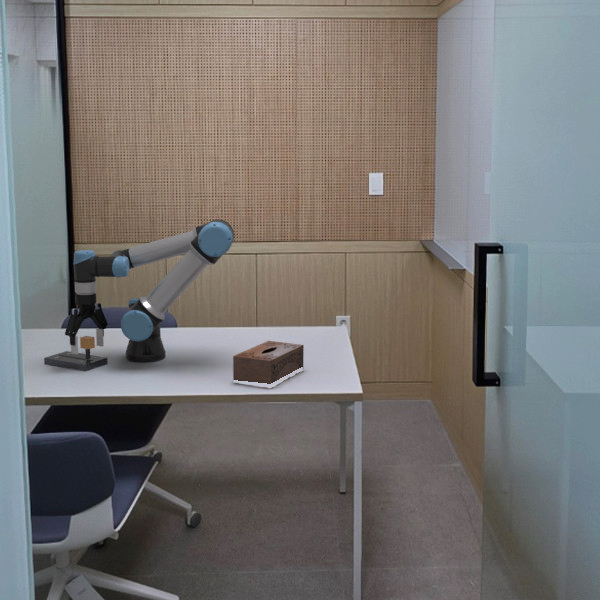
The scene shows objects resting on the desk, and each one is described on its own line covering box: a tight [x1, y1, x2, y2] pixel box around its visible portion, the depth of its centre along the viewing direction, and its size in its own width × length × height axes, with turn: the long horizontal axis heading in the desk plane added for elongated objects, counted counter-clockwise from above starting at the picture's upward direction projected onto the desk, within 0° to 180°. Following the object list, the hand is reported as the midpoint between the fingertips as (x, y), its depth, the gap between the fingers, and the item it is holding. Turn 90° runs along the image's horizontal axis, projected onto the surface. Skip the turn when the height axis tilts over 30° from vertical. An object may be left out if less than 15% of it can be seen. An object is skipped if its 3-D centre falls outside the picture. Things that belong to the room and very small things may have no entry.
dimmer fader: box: [79, 335, 96, 359], centre depth 330 cm, size 4×3×8 cm
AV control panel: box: [43, 350, 108, 372], centre depth 334 cm, size 20×12×3 cm, turn 61°
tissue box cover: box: [232, 340, 305, 384], centre depth 318 cm, size 26×14×10 cm, turn 154°
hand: (87, 349), depth 330 cm, fingers open, 13 cm apart
